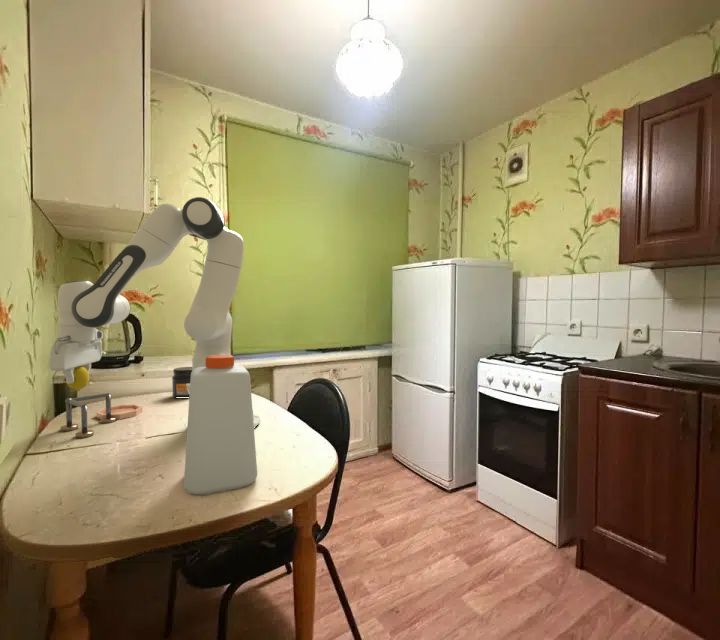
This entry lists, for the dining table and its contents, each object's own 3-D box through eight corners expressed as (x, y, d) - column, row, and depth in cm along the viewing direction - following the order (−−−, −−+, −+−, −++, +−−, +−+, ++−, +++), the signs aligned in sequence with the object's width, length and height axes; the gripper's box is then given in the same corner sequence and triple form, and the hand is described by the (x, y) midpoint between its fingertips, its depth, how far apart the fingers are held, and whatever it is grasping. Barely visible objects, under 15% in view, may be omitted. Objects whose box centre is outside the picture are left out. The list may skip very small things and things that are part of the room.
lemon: (62, 391, 112) (62, 365, 111) (83, 388, 117) (83, 363, 116) (72, 394, 109) (72, 367, 109) (93, 390, 114) (92, 364, 114)
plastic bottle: (185, 470, 89) (183, 353, 88) (250, 460, 95) (250, 350, 94) (183, 501, 75) (181, 363, 74) (260, 486, 81) (259, 359, 80)
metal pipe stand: (118, 419, 128) (118, 390, 128) (88, 437, 110) (87, 404, 110) (79, 420, 126) (78, 391, 126) (41, 440, 108) (40, 406, 108)
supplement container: (195, 399, 156) (194, 370, 156) (168, 399, 155) (168, 370, 154) (202, 393, 166) (202, 366, 166) (177, 393, 165) (176, 366, 165)
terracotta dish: (146, 408, 141) (146, 404, 141) (131, 419, 128) (131, 413, 128) (109, 410, 139) (109, 405, 139) (90, 420, 126) (90, 415, 126)
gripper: (67, 337, 103) (68, 387, 103) (105, 332, 123) (106, 374, 123) (41, 338, 102) (42, 388, 102) (84, 332, 122) (85, 374, 122)
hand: (78, 380), depth 113 cm, fingers closed on lemon, 5 cm apart
